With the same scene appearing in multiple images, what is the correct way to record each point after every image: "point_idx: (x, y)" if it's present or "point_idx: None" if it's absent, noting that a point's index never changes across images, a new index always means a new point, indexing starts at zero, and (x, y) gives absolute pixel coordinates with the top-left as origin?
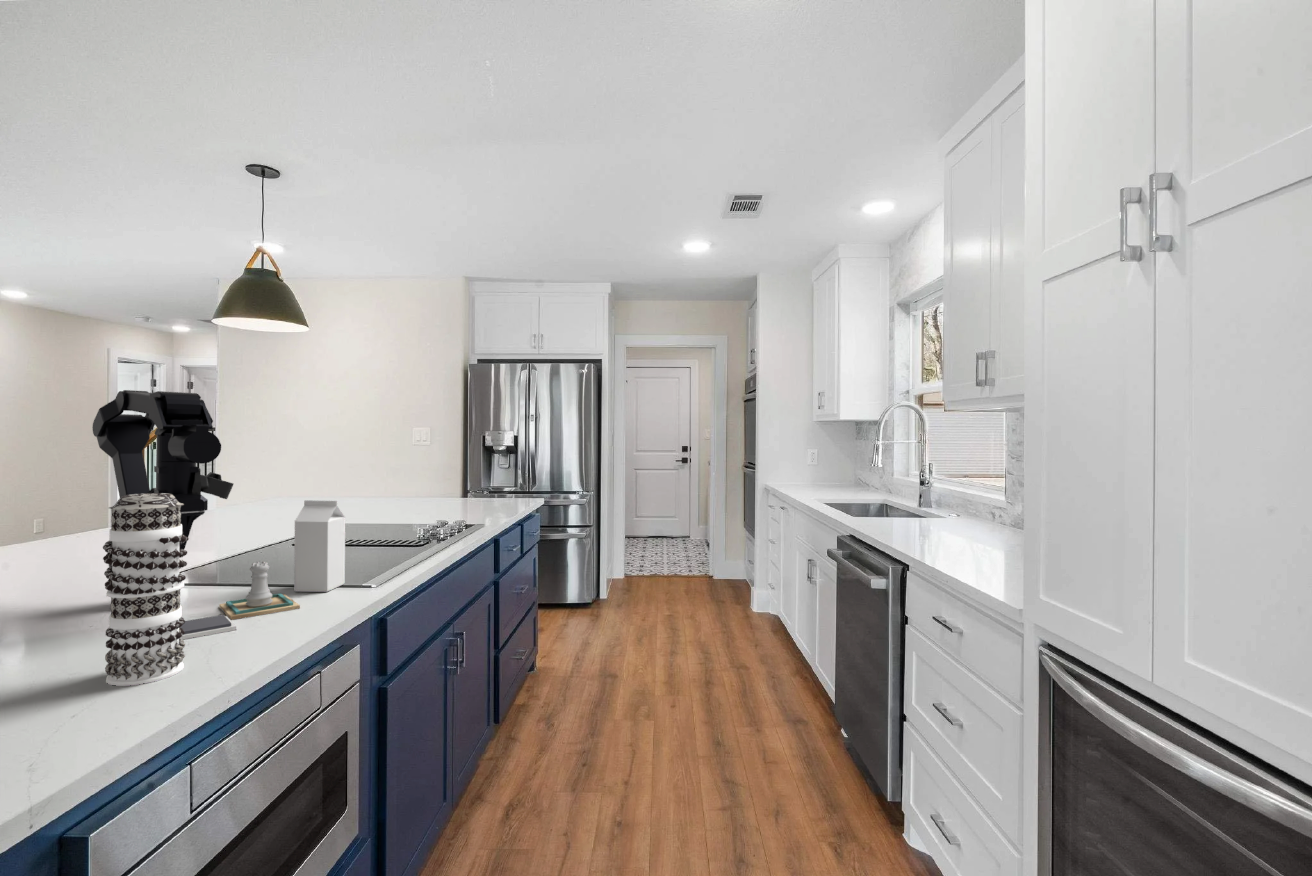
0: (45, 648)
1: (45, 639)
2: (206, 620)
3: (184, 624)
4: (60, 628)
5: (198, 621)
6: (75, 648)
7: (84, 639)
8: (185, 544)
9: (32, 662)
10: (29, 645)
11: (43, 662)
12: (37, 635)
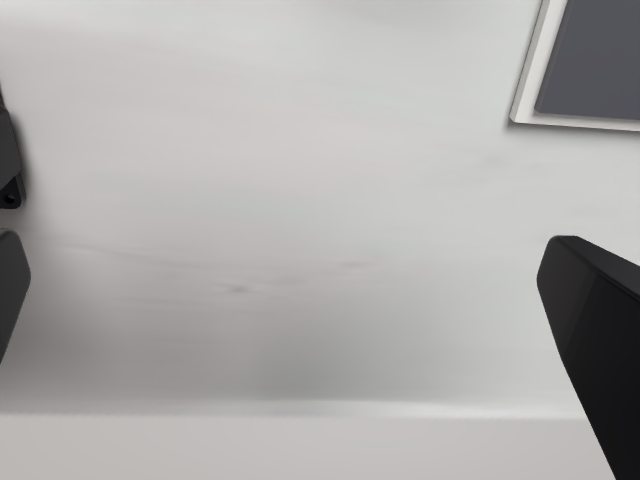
0: (414, 375)
1: (313, 372)
2: (634, 2)
3: (606, 92)
4: (203, 344)
5: (616, 35)
6: (483, 333)
7: (400, 313)
8: (618, 260)
9: (524, 394)
10: (349, 395)
11: (548, 381)
12: (248, 382)
